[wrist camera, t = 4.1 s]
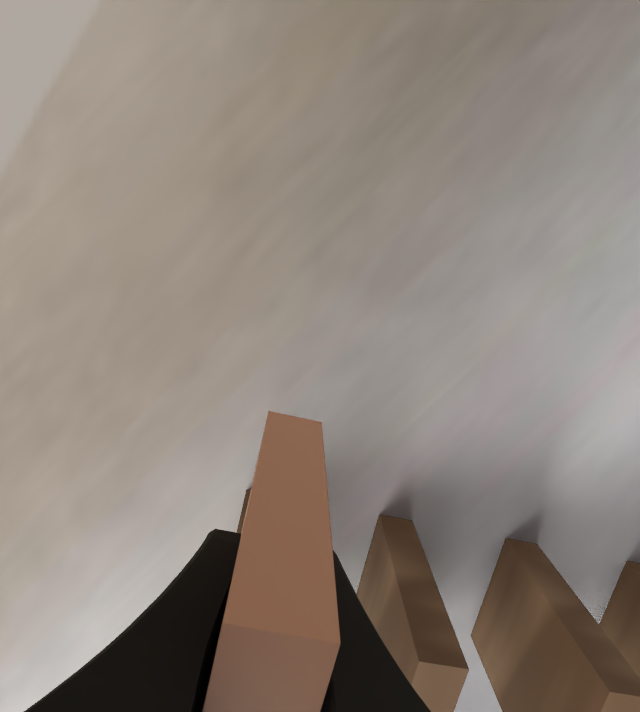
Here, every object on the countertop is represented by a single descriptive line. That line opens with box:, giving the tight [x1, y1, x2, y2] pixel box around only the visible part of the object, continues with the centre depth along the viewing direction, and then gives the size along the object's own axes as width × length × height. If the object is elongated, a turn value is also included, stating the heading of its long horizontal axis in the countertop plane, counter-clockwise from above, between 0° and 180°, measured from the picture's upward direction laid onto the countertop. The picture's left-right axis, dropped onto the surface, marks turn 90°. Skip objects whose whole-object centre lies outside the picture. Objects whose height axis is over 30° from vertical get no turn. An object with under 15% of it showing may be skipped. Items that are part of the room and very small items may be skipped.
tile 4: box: [471, 538, 640, 712], centre depth 17 cm, size 1×5×7 cm, turn 167°
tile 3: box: [356, 515, 469, 712], centre depth 17 cm, size 1×5×7 cm, turn 167°
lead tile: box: [202, 411, 341, 712], centre depth 10 cm, size 1×5×7 cm, turn 166°
